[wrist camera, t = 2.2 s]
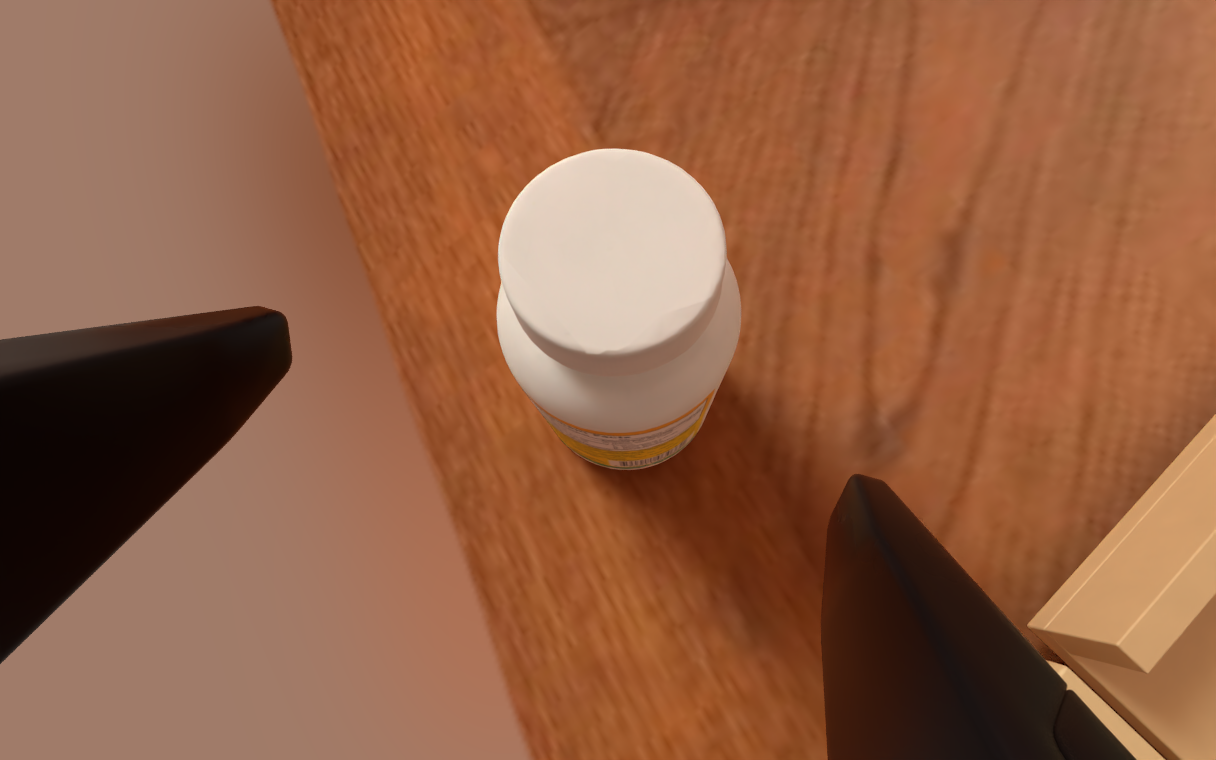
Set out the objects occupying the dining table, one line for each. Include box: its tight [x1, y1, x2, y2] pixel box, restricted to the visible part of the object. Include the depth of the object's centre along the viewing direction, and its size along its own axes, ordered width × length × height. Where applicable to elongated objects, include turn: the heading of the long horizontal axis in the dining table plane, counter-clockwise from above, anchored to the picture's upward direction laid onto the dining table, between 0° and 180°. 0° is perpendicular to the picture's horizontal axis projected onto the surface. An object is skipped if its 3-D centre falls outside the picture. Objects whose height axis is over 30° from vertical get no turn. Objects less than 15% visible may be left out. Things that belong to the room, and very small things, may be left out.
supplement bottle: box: [497, 149, 741, 470], centre depth 15 cm, size 5×5×10 cm
